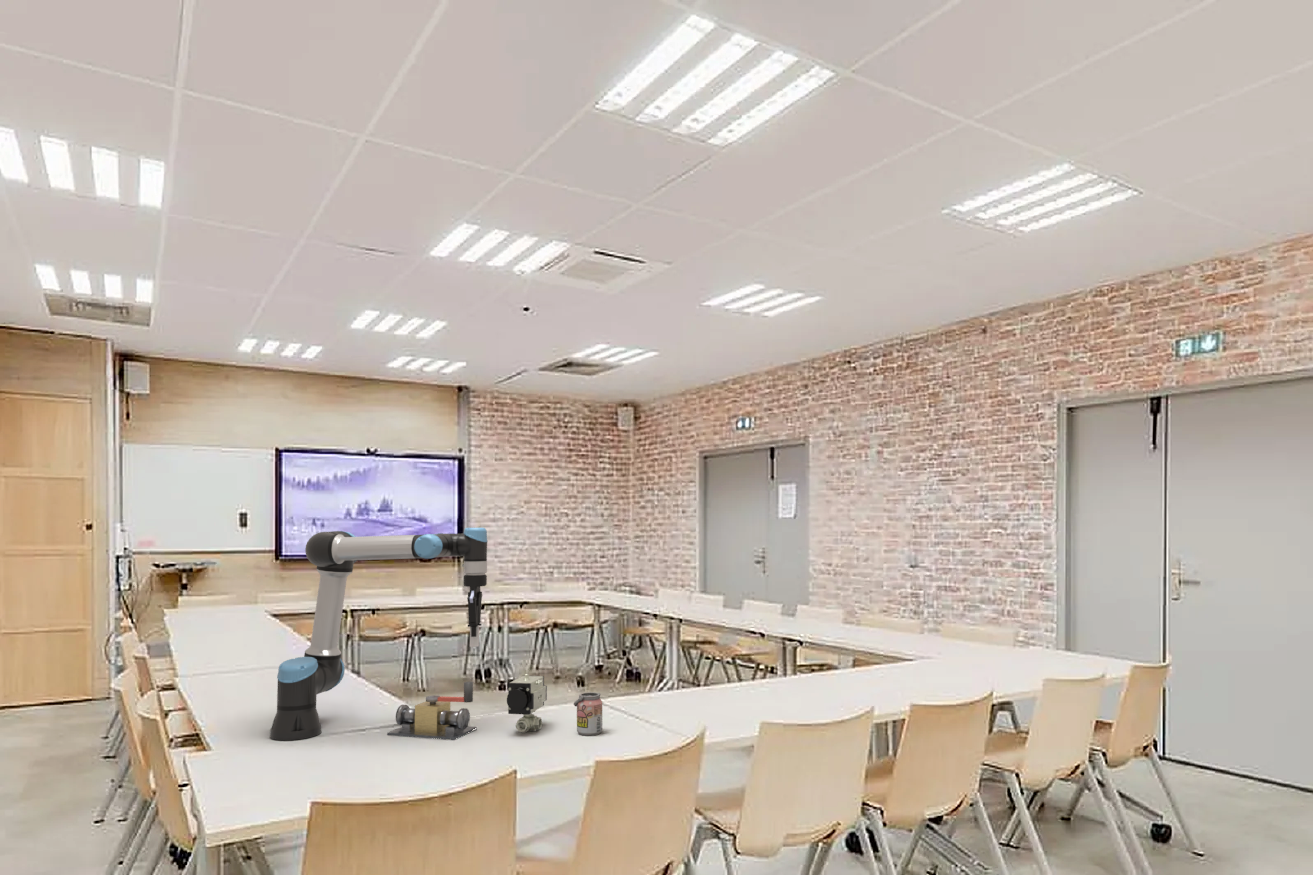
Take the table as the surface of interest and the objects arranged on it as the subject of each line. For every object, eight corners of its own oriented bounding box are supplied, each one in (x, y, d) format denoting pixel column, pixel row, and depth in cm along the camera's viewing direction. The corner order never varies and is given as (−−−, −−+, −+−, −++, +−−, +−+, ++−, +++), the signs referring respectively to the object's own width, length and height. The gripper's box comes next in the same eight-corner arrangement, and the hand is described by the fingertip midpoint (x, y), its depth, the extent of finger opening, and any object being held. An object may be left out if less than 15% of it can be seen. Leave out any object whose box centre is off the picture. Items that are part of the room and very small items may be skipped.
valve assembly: (387, 735, 270) (387, 704, 271) (412, 725, 283) (412, 695, 284) (454, 740, 263) (454, 708, 264) (476, 729, 276) (476, 699, 277)
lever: (423, 701, 272) (423, 682, 273) (429, 699, 277) (429, 680, 277) (469, 703, 270) (469, 683, 270) (475, 700, 274) (475, 681, 275)
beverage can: (568, 733, 270) (568, 694, 272) (588, 728, 277) (588, 690, 278) (588, 737, 264) (588, 698, 265) (608, 732, 270) (607, 693, 271)
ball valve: (531, 738, 265) (531, 679, 266) (505, 737, 266) (505, 678, 268) (549, 724, 282) (549, 669, 284) (525, 723, 284) (525, 669, 286)
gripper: (467, 573, 289) (467, 643, 287) (459, 575, 276) (458, 649, 274) (490, 572, 289) (489, 643, 287) (482, 575, 276) (482, 649, 274)
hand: (474, 646), depth 280 cm, fingers closed
